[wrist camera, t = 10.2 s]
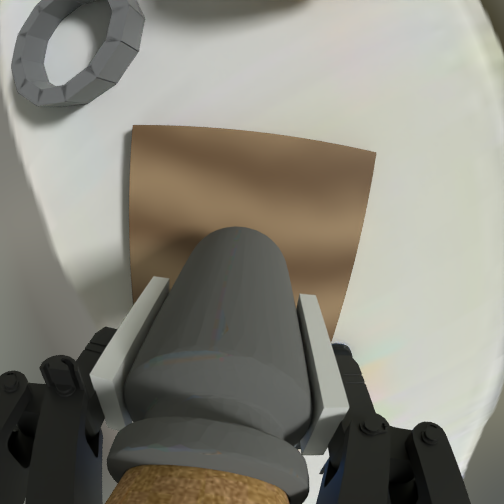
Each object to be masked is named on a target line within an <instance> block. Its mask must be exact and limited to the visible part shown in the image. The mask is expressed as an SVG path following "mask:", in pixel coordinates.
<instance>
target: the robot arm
mask: <svg viewBox="0 0 504 504" xmlns="http://www.w3.org/2000/svg"><path fill="white" fill-rule="evenodd" d="M168 294H169V278H163V277H156V276H153V278H152V279H151V281H150V282H149V284H148V285H147V286H146V288H145V289H144V291H143V292H142V294H141V295H140V297H139V298H138V300H137V301H136V303H135V304H134V305H133V307H132V308H131V310H130V311H129V313H128V314H127V316H126V317H125V319H124V321H123V322H122V324H121V325H120V327H119V328H118V329H113V328H109V327H104V328H103V329H101V330H100V331H98V332H97V333H95V335H94V336H93V338H92V339H91V340H90V343H88V345H87V346H86V347H85V350H83V352H82V353H81V355H80V356H79V358H78V359H77V360H76V361H75V360H74V359H72V358H71V357H69V356H65V355H58V356H57V355H56V356H52V357H50V358H48V359H46V360H45V361H44V362H43V363H42V364H41V366H40V370H41V373H42V376H43V378H44V380H45V383H46V384H36V383H28V381H27V379H26V377H25V375H24V374H22V373H21V372H18V371H8V372H6V373H4V374H2V375H1V376H0V504H23V503H24V501H25V498H26V504H102V444H103V435H102V430H101V425H102V423H103V421H104V419H105V421H106V424H107V426H108V428H111V429H115V430H118V431H120V430H121V429H122V428H124V427H125V426H127V425H129V424H131V423H132V419H131V418H130V415H129V413H128V411H127V408H126V405H125V402H124V386H125V383H126V379H127V377H128V375H129V372H130V370H131V368H132V366H133V363H134V361H135V359H136V357H137V354H138V352H139V350H140V348H141V346H142V344H143V342H144V340H145V338H146V336H147V334H148V332H149V330H150V328H151V326H152V324H153V322H154V321H155V319H156V317H157V315H158V313H159V311H160V309H161V307H162V305H163V303H164V301H165V300H166V298H167V296H168ZM296 311H297V316H298V322H299V327H300V333H301V338H302V344H303V349H304V355H305V361H306V366H307V372H308V378H309V384H310V390H311V399H312V411H313V413H312V420H311V424H310V427H309V429H308V430H307V432H306V434H305V436H304V437H303V438H302V439H301V440H300V445H301V455H323V454H324V453H325V451H326V449H327V448H328V450H329V456H330V457H329V459H328V460H327V462H326V463H325V465H324V466H323V468H322V469H321V471H320V473H319V474H323V473H324V474H323V478H322V482H321V487H320V491H319V495H318V498H317V502H316V504H471V503H470V500H469V497H468V494H467V491H466V488H465V485H464V482H463V479H462V476H461V473H460V470H459V467H458V465H457V462H456V459H455V457H454V454H453V451H452V449H451V446H450V444H449V441H448V439H447V436H446V434H445V432H444V431H443V429H442V428H441V427H440V426H438V425H437V424H435V423H432V422H422V423H419V424H418V425H417V426H415V427H414V429H413V430H407V429H401V428H395V427H392V426H389V423H388V422H387V421H386V419H385V418H383V417H382V416H381V415H379V414H376V412H375V410H374V407H373V404H372V401H371V398H370V396H369V393H368V390H367V387H366V384H364V379H363V376H362V373H361V371H360V368H359V365H358V364H357V362H356V361H355V360H354V359H353V358H352V357H351V356H350V355H334V352H333V348H332V345H331V342H330V339H329V335H328V332H327V329H326V326H325V323H324V319H323V316H322V313H321V310H320V307H319V304H318V301H317V298H316V295H308V294H299V298H298V303H297V308H296Z"/></svg>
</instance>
